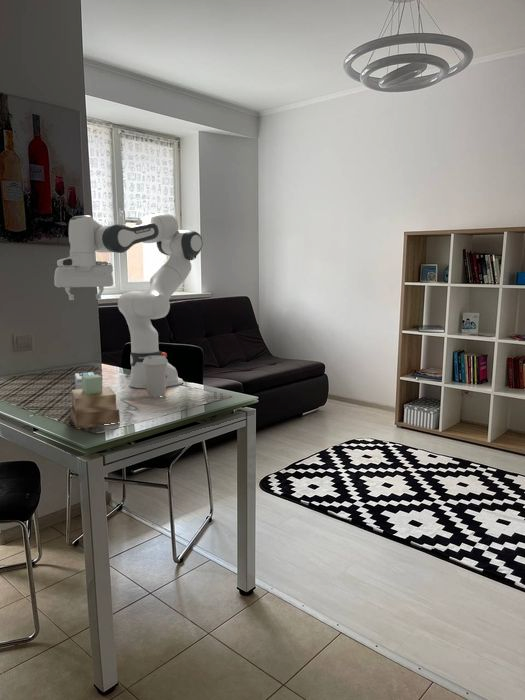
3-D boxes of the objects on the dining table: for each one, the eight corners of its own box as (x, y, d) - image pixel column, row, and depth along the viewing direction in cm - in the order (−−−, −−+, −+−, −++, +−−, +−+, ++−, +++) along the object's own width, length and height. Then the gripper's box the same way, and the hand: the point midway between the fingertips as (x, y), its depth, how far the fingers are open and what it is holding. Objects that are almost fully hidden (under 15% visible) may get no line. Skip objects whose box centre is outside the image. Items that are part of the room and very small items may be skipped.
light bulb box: (75, 401, 190) (73, 373, 188) (94, 400, 193) (93, 371, 191) (77, 409, 180) (75, 378, 178) (97, 407, 183) (96, 377, 181)
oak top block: (110, 400, 173) (109, 386, 172) (116, 409, 163) (115, 394, 162) (72, 404, 168) (71, 390, 167) (76, 414, 158) (75, 398, 157)
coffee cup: (147, 392, 204) (145, 355, 201) (171, 392, 203) (170, 355, 201) (140, 398, 194) (139, 359, 192) (166, 398, 194) (164, 359, 192)
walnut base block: (111, 414, 175) (110, 400, 174) (119, 425, 164) (119, 409, 163) (70, 420, 169) (69, 405, 168) (76, 431, 158) (76, 415, 157)
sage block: (98, 389, 168) (97, 374, 168) (102, 392, 164) (101, 377, 163) (82, 391, 166) (81, 375, 165) (86, 394, 162) (85, 378, 161)
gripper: (110, 261, 194) (112, 298, 196) (52, 261, 184) (54, 300, 187) (114, 261, 189) (116, 299, 191) (54, 261, 179) (57, 300, 181)
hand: (85, 299), depth 189 cm, fingers open, 8 cm apart
